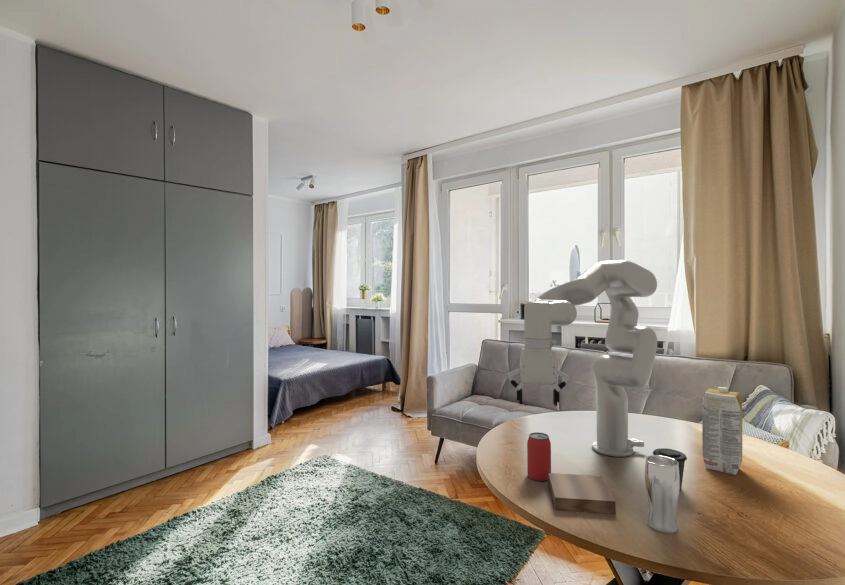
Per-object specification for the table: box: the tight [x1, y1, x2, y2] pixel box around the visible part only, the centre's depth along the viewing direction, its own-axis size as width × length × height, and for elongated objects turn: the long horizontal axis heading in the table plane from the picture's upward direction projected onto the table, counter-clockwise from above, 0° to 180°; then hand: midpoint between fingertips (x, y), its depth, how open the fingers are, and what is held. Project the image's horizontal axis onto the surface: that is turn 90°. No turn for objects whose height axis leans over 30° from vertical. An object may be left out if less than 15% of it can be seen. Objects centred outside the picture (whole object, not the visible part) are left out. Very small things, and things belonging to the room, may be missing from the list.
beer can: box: [526, 431, 552, 482], centre depth 124 cm, size 7×7×12 cm
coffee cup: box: [652, 448, 688, 493], centre depth 116 cm, size 8×8×10 cm
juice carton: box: [701, 386, 743, 476], centre depth 127 cm, size 9×8×24 cm
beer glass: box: [644, 454, 680, 534], centre depth 98 cm, size 7×7×15 cm
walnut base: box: [547, 472, 617, 515], centre depth 111 cm, size 14×14×3 cm
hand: (537, 403), depth 123 cm, fingers open, 9 cm apart
